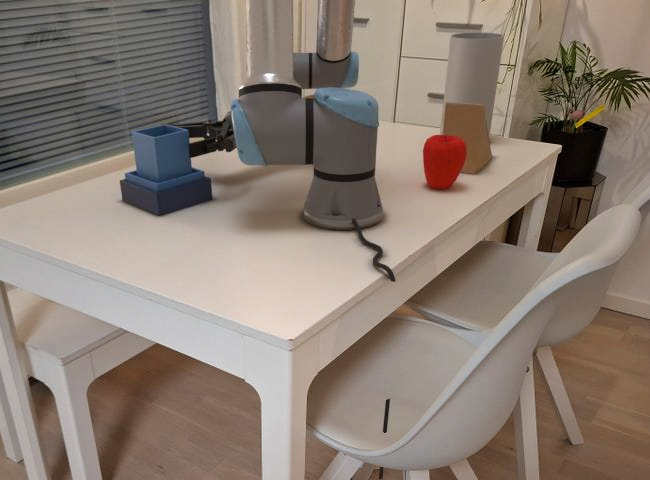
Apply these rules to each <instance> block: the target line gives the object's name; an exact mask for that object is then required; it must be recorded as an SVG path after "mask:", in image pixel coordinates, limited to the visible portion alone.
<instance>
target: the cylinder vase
mask: <svg viewBox="0 0 650 480" xmlns="http://www.w3.org/2000/svg"><path fill="white" fill-rule="evenodd" d="M504 40H505V34H502V33H498V32H497V33H496V32H460V33H453V34H451V35H450V39H449V46H448V56H447V66H446V74H445V75H446V76H445V82H444V83H445V84H444V93H443V102H442V109H441V119H440V129H439V135H443V126H444V116H445V106H446V103H447V102H454V103H471V104H481V105H484V107H485V117H486V124H487V130H488V136H489V137H490V135H491V128H492V121H493V116H494V115H493V114H494V108H495V100H496V95H497V87H498V82H499V75H500V68H501V61H502V54H503V46H504Z"/></svg>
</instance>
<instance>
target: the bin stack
mask: <svg viewBox="0 0 650 480" xmlns="http://www.w3.org/2000/svg"><path fill="white" fill-rule="evenodd" d="M205 174H206V173H205V170H202V169H199V168H195V167H193V166H192V174H189V175H186V176H182V177H179V178H175V179H172V180H168V181H165V182H161V183H158V184H157V183H155V182H152V181H149V180H146V179H143V178H141V177H138V176H137V170H136V169H134V170H132V171H128V172H125V173H124V178H123V179H119V185H120V186H119V187H120V193H121V200H122V202H124V203H126V204H129V205H131V206H134V207H136V208H139V209H141V210H144V211H147V212H148V213H151V214H154V215H156V216H158V217H159V216H163V215H166V214H169V213H173V212H176V211H178V210H183V209H185V208H188V207H191V206H194V205H197V204H200V203H204V202H206V201H210V200H213V188H212V178H211V177H209V176H206V175H205Z"/></svg>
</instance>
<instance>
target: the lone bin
mask: <svg viewBox="0 0 650 480" xmlns="http://www.w3.org/2000/svg"><path fill="white" fill-rule="evenodd" d="M131 139H132V145H133V153H134V154H133V155H134V160H135V161H134V162H135V170H137V176H138V177H141V178H143V179H146V180H149V181H152V182H155V183H157V184H158V183H161V182H165V181H168V180H172V179H175V178H179V177H182V176H186V175H189V174H192V167H193V166H192V165H193V164H192V158H190V157H189V146H188V144H189V143H191V141H190V138H189V130H186V129H183V128H179V127H175V126H171V125H170V124H166V123H164V124H160V125H159V124H158V125H155V126H150V127H147V128H142V129H137V130H134V131H133V130H132V131H131Z"/></svg>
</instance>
